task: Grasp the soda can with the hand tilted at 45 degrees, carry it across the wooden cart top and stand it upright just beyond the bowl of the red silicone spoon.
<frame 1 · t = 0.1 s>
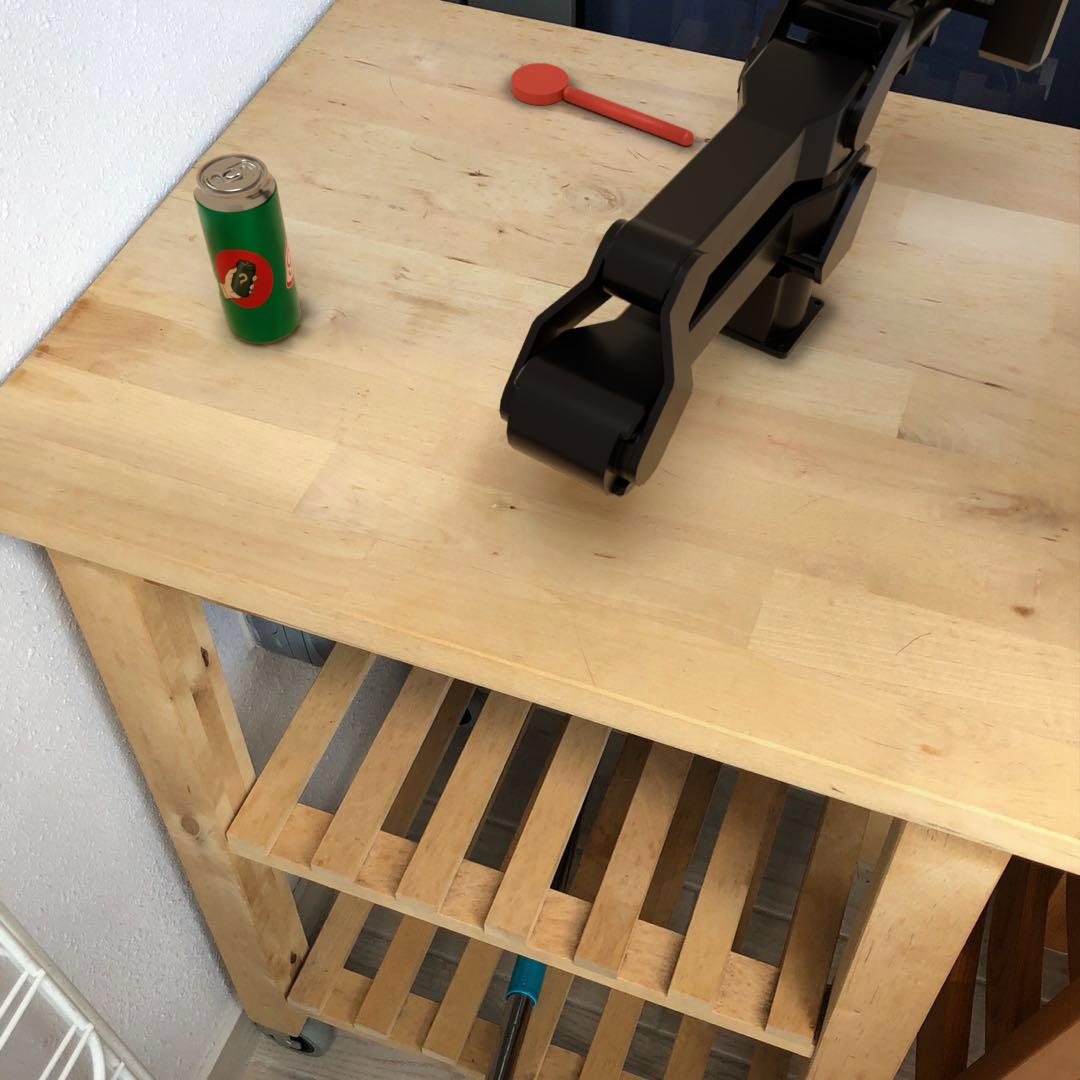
spoon: (590, 108, 98), on the kitchen cart
soda can: (265, 325, 82), on the kitchen cart
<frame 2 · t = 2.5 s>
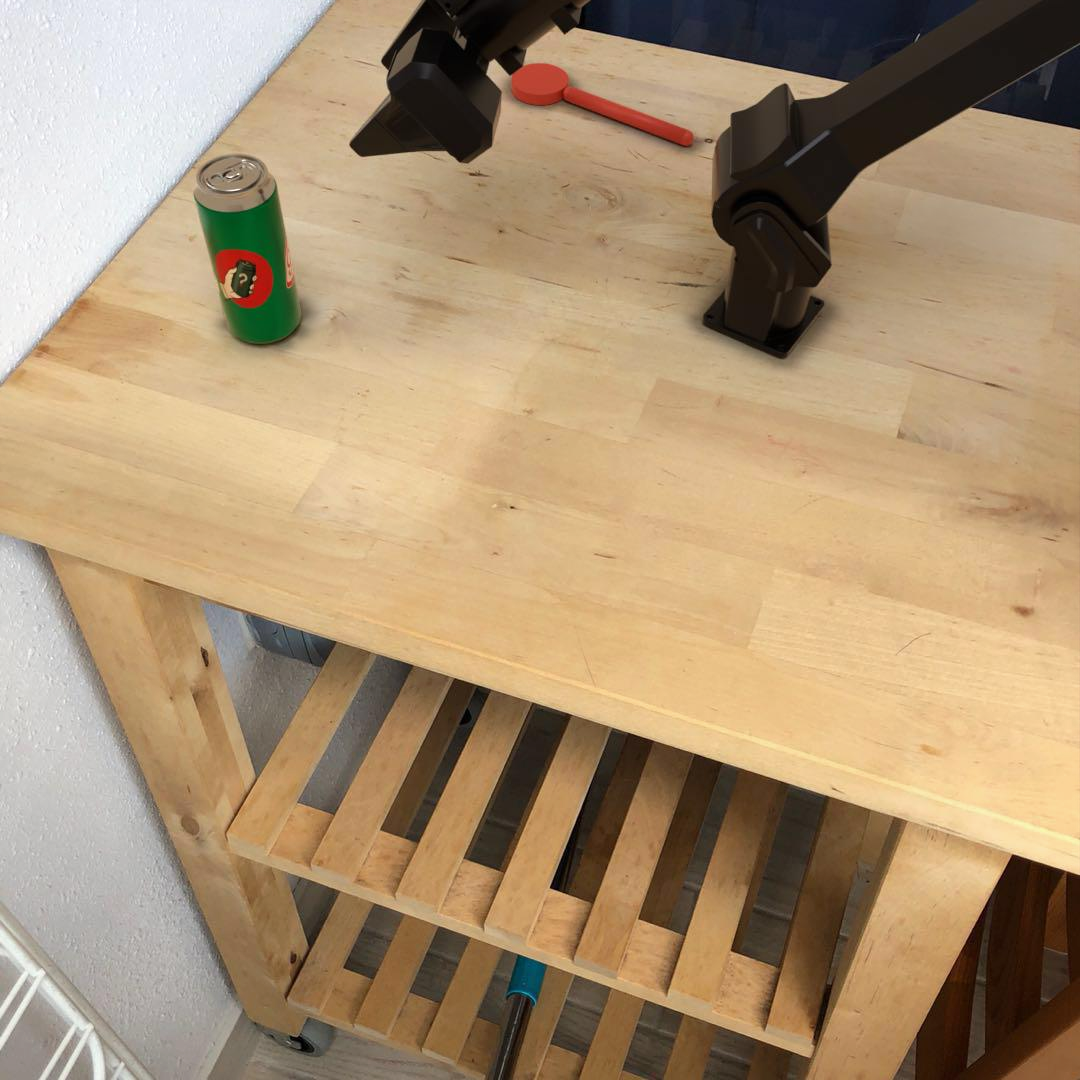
hand: (371, 106, 73), 14 cm above the kitchen cart, tool tilted 50°, fingers open, 9 cm apart
nothing on the kitchen cart moved.
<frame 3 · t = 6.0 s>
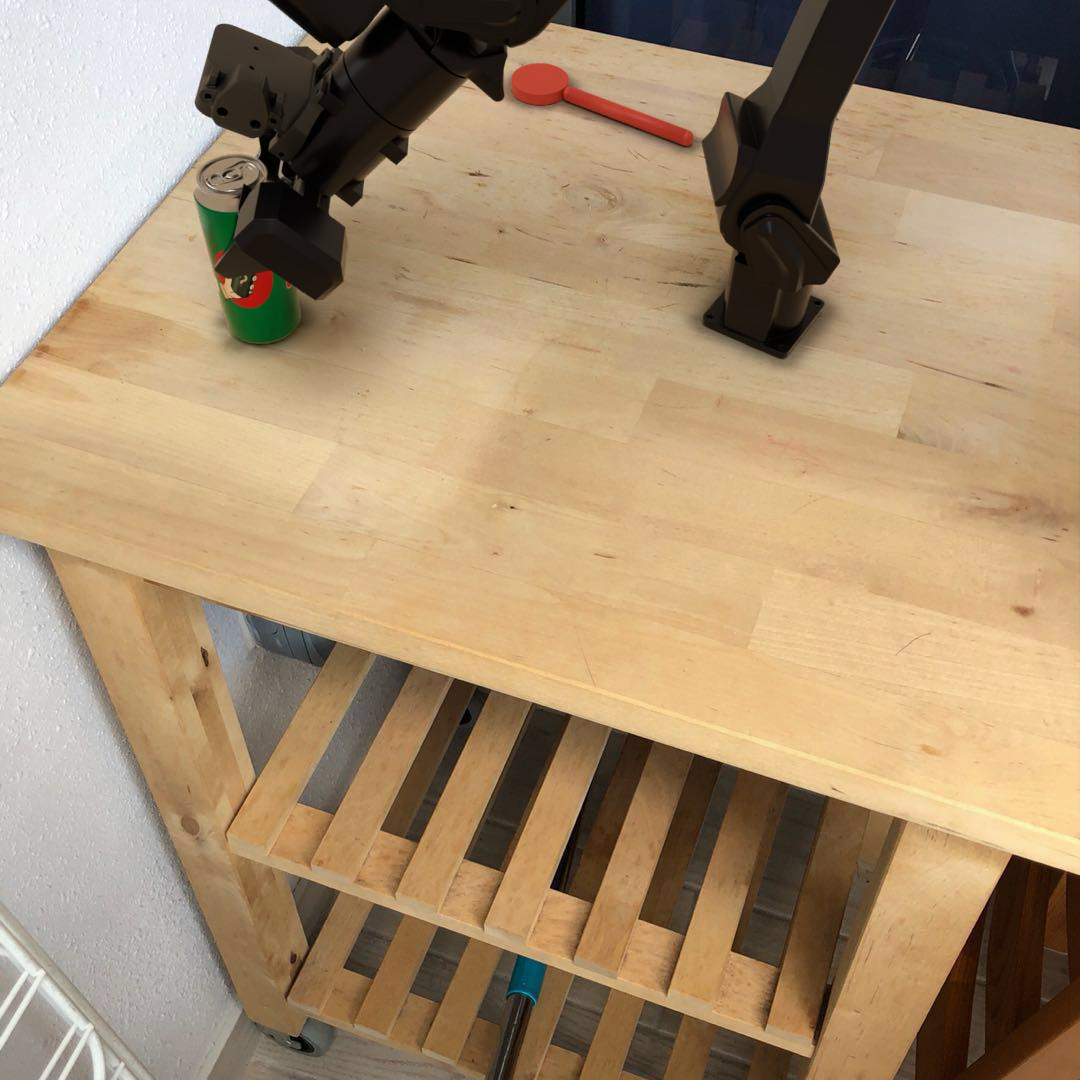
hand: (226, 246, 76), 7 cm above the kitchen cart, tool tilted 45°, fingers closed on soda can, 5 cm apart
soda can: (265, 326, 82), on the kitchen cart, touching gripper
everything else where it was.
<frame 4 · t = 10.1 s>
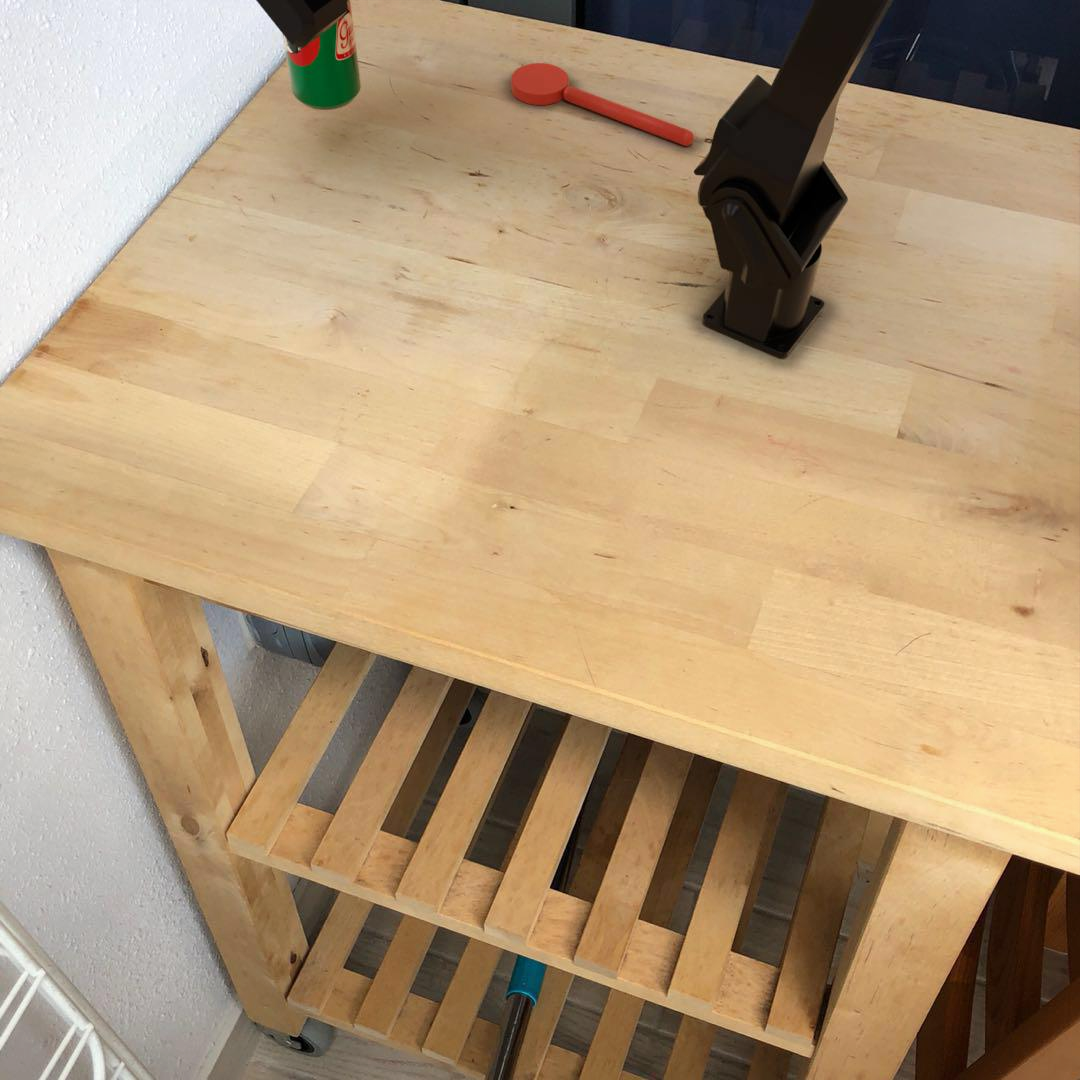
hand: (300, 4, 84), 12 cm above the kitchen cart, tool tilted 45°, fingers closed on soda can, 5 cm apart
soda can: (328, 97, 89), point 6 cm above the kitchen cart, touching gripper
everything else where it was.
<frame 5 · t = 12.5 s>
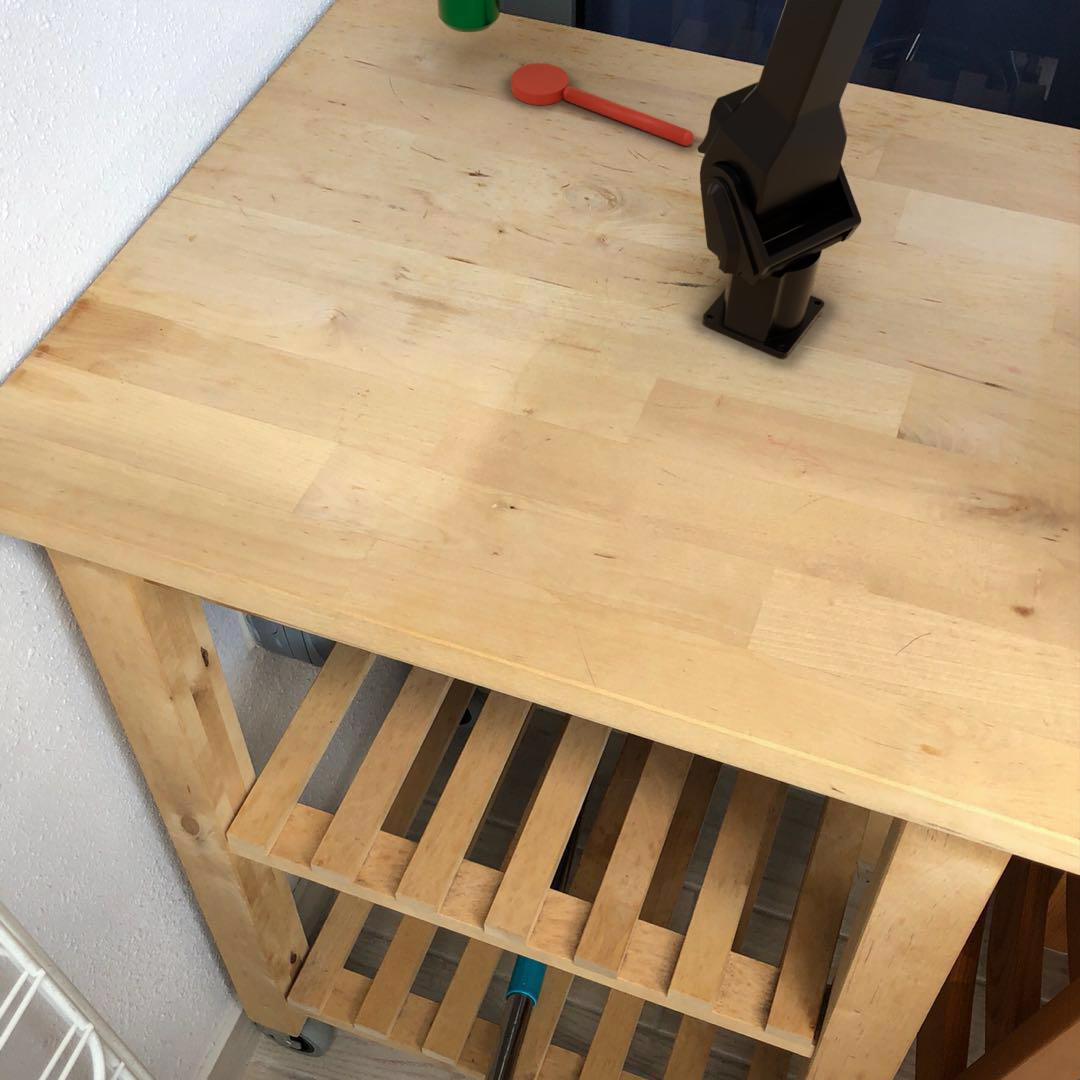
soda can: (469, 22, 98), point 4 cm above the kitchen cart, touching gripper
everything else where it was.
when the fingers open (7 cm above the kitchen cart, at t = 14.2 s): soda can stays where it is, on the kitchen cart.
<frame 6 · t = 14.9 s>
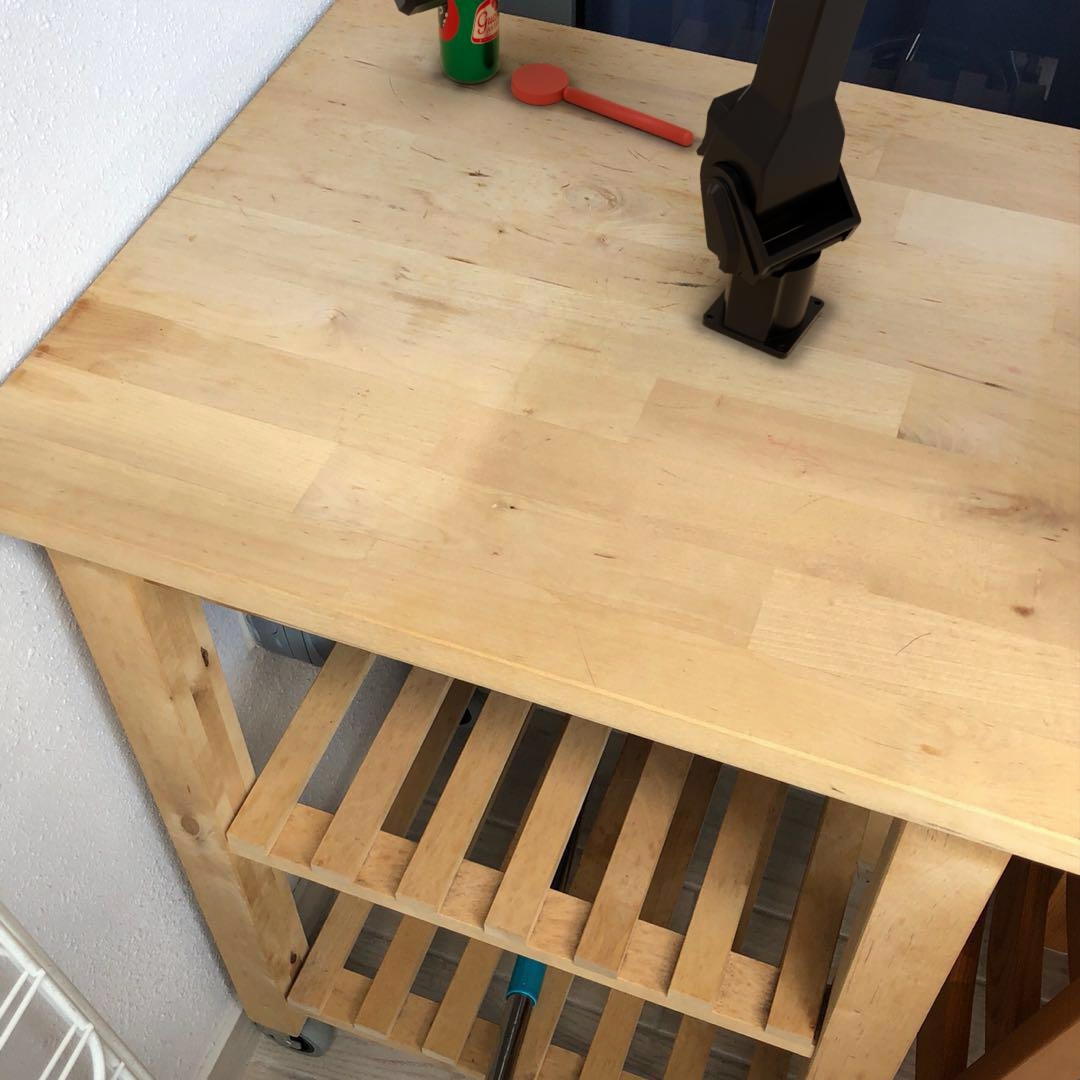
soda can: (470, 73, 102), on the kitchen cart
everything else where it was.
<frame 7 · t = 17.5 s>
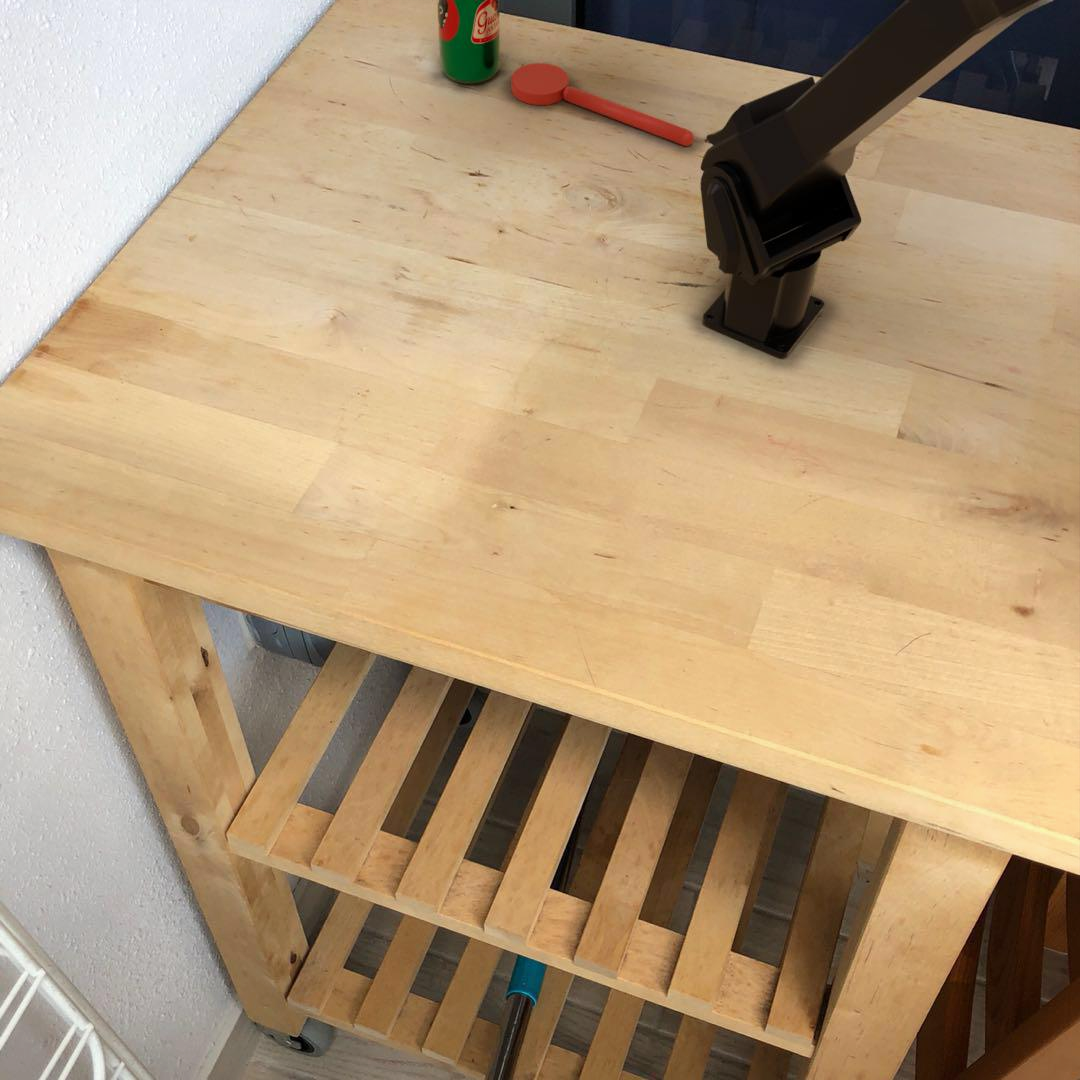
nothing on the kitchen cart moved.
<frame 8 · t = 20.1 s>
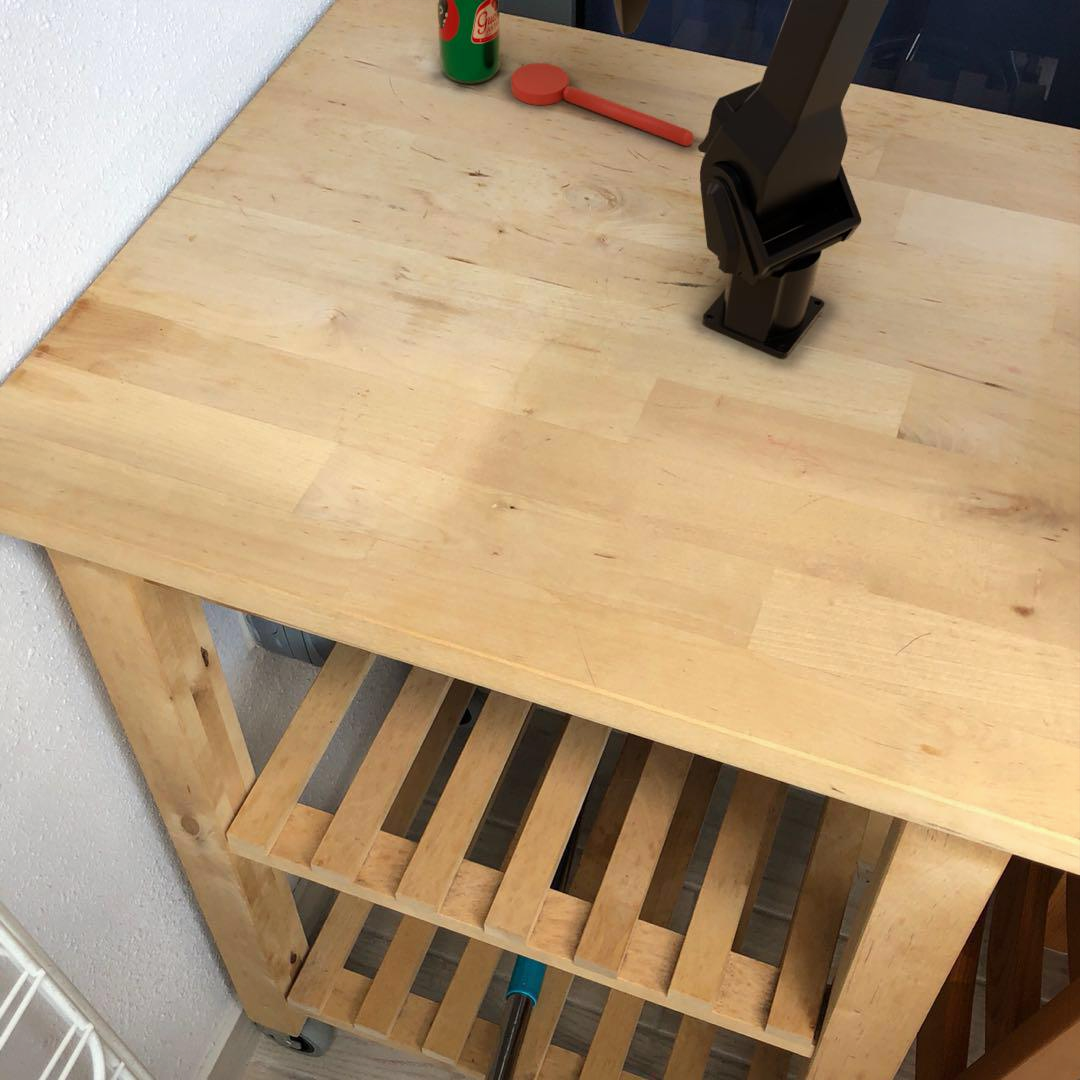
hand: (588, 3, 83), 13 cm above the kitchen cart, tool pointing down, fingers open, 9 cm apart
nothing on the kitchen cart moved.
at the end: soda can 0.7 cm from the target spot on the kitchen cart beside the spoon, on the kitchen cart; soda can tilted 0°; the gripper is holding nothing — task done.
